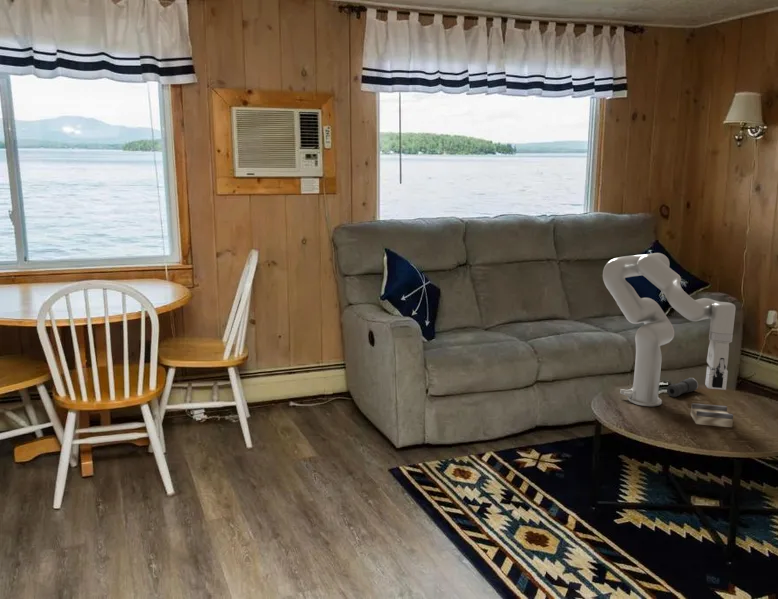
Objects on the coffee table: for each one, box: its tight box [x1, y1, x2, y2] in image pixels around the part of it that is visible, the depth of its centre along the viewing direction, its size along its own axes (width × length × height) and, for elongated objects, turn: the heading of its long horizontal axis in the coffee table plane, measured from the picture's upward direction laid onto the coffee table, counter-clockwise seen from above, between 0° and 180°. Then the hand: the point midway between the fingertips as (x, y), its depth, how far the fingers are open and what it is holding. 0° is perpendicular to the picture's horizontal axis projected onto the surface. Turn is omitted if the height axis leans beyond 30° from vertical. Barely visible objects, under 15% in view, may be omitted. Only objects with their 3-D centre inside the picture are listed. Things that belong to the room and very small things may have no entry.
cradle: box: [690, 402, 734, 428], centre depth 248 cm, size 12×10×4 cm
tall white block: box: [704, 365, 729, 391], centre depth 245 cm, size 6×4×7 cm
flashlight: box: [666, 377, 699, 398], centre depth 278 cm, size 15×5×5 cm, turn 127°
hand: (715, 384), depth 246 cm, fingers closed on tall white block, 4 cm apart
